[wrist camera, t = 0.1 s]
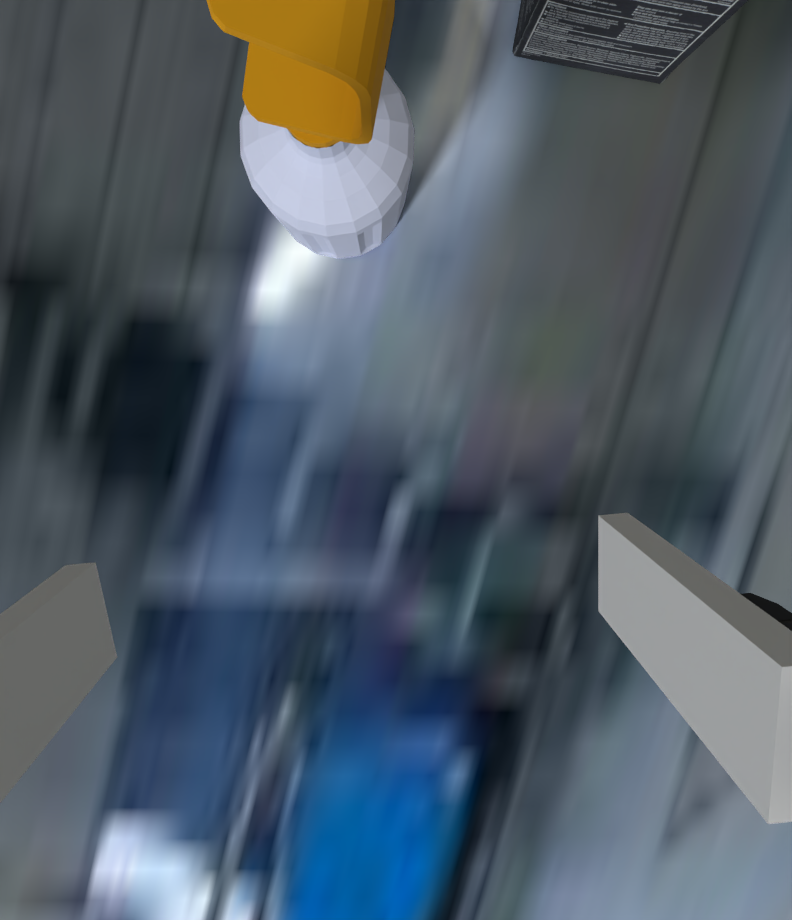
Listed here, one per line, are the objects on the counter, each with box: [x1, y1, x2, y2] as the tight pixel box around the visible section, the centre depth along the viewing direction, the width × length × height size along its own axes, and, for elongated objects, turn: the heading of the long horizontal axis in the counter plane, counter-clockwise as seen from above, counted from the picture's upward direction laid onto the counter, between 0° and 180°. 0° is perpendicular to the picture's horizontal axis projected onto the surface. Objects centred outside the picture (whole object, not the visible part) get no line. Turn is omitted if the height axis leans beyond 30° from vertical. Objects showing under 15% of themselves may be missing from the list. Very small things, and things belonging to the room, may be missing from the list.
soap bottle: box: [207, 0, 415, 259], centre depth 26 cm, size 9×9×25 cm
